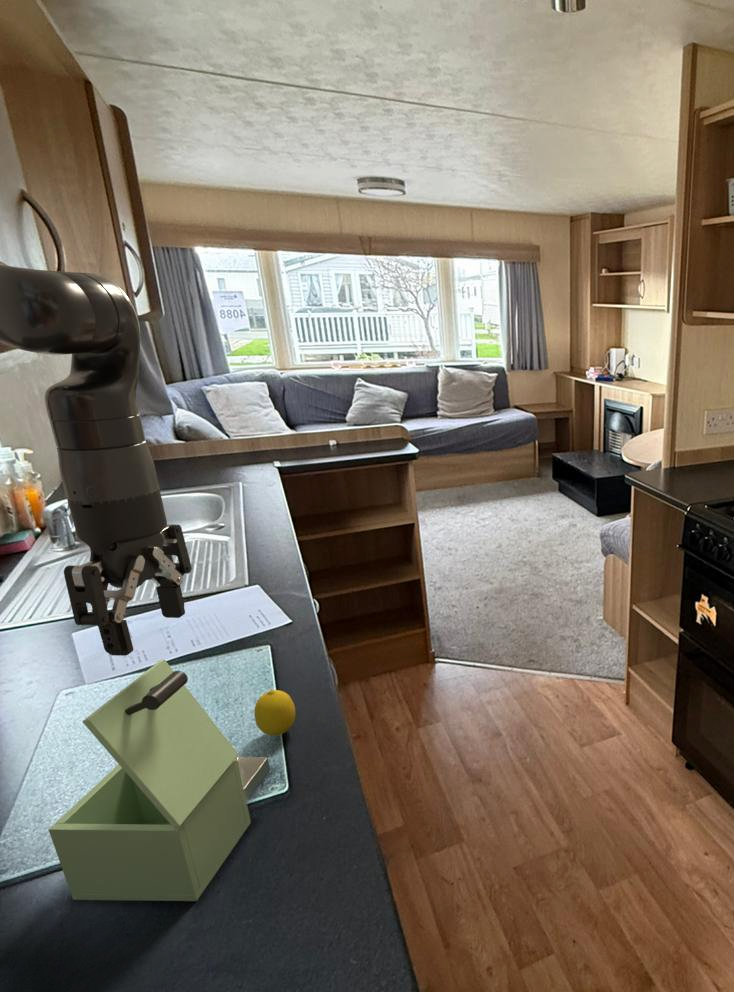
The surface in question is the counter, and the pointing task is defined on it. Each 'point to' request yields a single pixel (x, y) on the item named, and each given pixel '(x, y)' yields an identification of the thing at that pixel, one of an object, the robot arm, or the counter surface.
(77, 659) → the counter surface
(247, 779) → the switch block
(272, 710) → the lemon
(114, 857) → the green lidded box
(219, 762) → the lid
